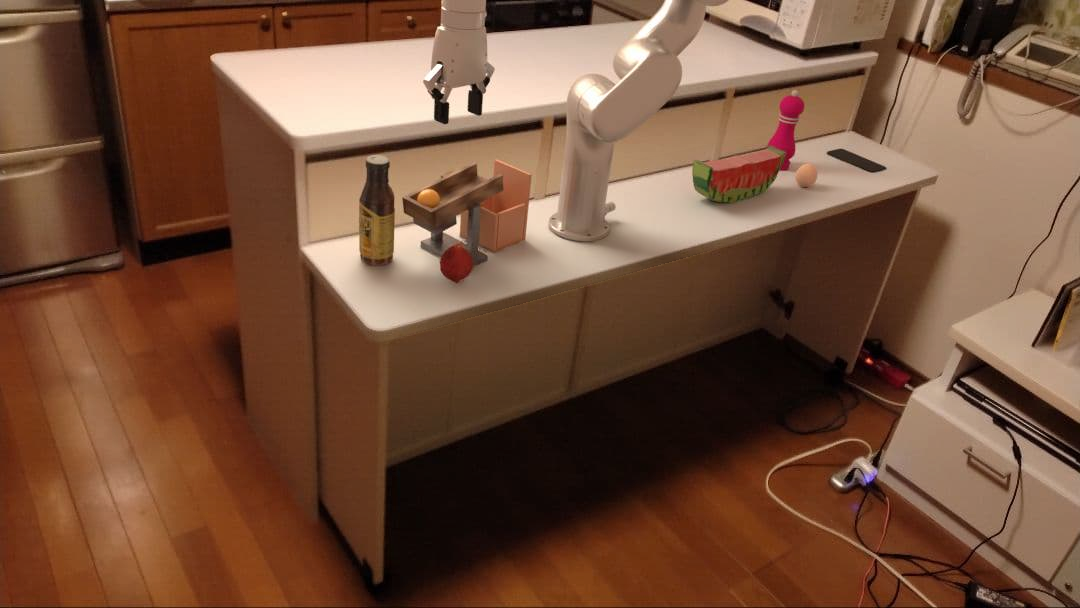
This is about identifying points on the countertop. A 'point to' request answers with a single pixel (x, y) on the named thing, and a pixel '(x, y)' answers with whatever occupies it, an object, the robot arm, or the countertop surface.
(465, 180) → the brown wooden tray
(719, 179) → the fruit slice
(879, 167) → the phone
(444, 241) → the stand
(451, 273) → the onion
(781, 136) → the pepper mill
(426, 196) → the ball
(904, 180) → the countertop surface
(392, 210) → the sauce bottle
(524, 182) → the cup
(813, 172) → the egg
